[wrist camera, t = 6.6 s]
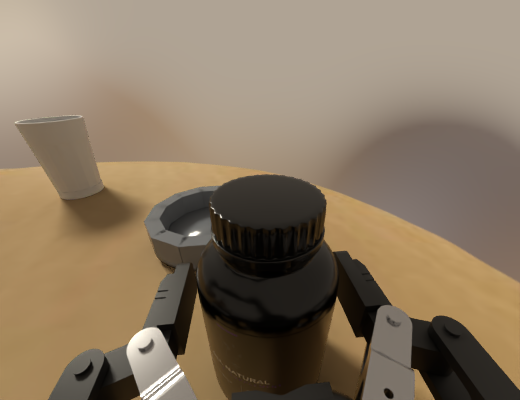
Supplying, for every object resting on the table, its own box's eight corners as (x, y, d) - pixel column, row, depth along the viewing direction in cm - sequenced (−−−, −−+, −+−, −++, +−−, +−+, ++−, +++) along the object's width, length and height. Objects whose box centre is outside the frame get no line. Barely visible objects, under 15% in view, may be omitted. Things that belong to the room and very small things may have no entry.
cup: (119, 182, 42) (95, 115, 36) (84, 203, 35) (48, 123, 29) (81, 181, 43) (52, 115, 37) (40, 201, 36) (-3, 123, 30)
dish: (226, 288, 20) (222, 261, 18) (127, 249, 25) (118, 226, 23) (279, 215, 30) (279, 195, 29) (201, 198, 35) (198, 180, 34)
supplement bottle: (213, 438, 11) (155, 263, 6) (216, 316, 17) (189, 171, 12) (340, 410, 12) (397, 233, 7) (301, 303, 18) (314, 161, 13)
